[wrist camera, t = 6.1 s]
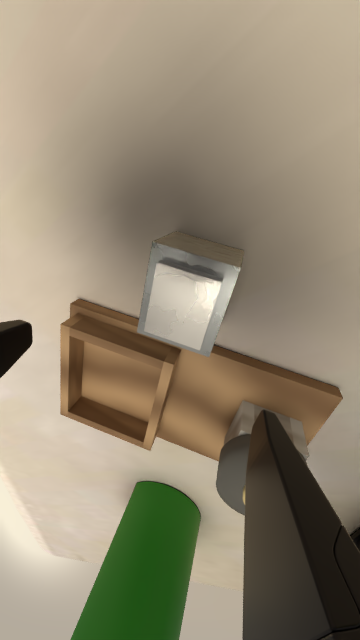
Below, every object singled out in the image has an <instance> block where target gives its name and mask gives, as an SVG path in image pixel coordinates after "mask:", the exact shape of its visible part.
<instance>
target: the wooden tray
mask: <svg viewBox="0 0 360 640" xmlns="http://www.w3.org/2000/svg"><path fill="white" fill-rule="evenodd" d="M138 323H139V319H136V318H133V317H130V316H127V315H125V314H122V313H119V312H116V311H113V310H110V309H107V308H104V307H101V306H98V305H95V304H92V303H90V302H87V301H84V300H81V299H78V300H76V301H74V302H72V303H71V304H70V318H69V319H68V320H66V321H65V322H63V323H62V324H61V415H64V416H66V417H69V418H71V419H74V420H76V421H78V422H81V423H83V424H86V425H88V426H91V427H93V428H96V429H98V430H100V431H103V432H105V433H108V434H110V435H113V436H115V437H118V438H120V439H122V440H125V441H127V442H130V443H132V444H135V445H137V446H140V447H142V448H144V449H147V450H149V451H150V450H151V447H152V445H153V443H154V440H155V438H156V436H157V437H159V438H162V439H164V440H167V441H169V442H172V443H174V444H177V445H179V446H182V447H184V448H187V449H189V450H192V451H194V452H197V453H199V454H202V455H204V456H207V457H209V458H212V459H214V460H217V461H219V457H220V452H221V449H222V447H223V446H224V445H225V444H226V443H227V442H228V441H229V440H231V439H233V438H235V437H237V436H241V435H246V434H251V431H252V427H253V424H254V422H255V421H256V419H257V417H258V415H259V413H260V412H261V410H263V409H265V410H268V411H271V412H273V413H275V414H276V416H277V417H278V419H279V421H280V422H281V424H282V425H283V427H284V429H285V430H286V432H287V434H288V435H289V437H290V439H291V440H292V442H293V444H294V445H295V447H296V448H297V450H298V451H299V452H300V453H301V454H302V455H303V457H304V458H305V461H306V460H307V458H308V457H309V453H308V449H307V445H308V444H309V443H310V441H311V440H312V439H313V437H314V436H315V435H316V433H317V432H318V431H319V429H320V428H321V427H322V425H323V424H324V423H325V421H326V420H327V419H328V417H329V416H330V415H331V413H332V412H333V411H334V409H335V408H336V407H337V405H338V404H339V403H340V401H341V400H342V399H343V397H342V395H341V393H340V391H339V388H337V387H334V386H332V385H329V384H326V383H323V382H320V381H317V380H314V379H311V378H308V377H305V376H302V375H299V374H297V373H294V372H291V371H288V370H285V369H282V368H279V367H276V366H273V365H270V364H267V363H264V362H262V361H259V360H256V359H253V358H250V357H247V356H244V355H241V354H238V353H235V352H232V351H229V350H227V349H224V348H221V347H218V346H215V345H213V348H212V351H211V354H210V356H209V357H206V356H204V355H201V354H198V353H195V352H192V351H189V350H186V349H183V348H181V347H178V346H175V345H172V344H169V343H166V342H163V341H161V340H158V339H155V338H152V337H149V336H146V335H143V334H140V333H138V332H137V328H138Z"/></svg>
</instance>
